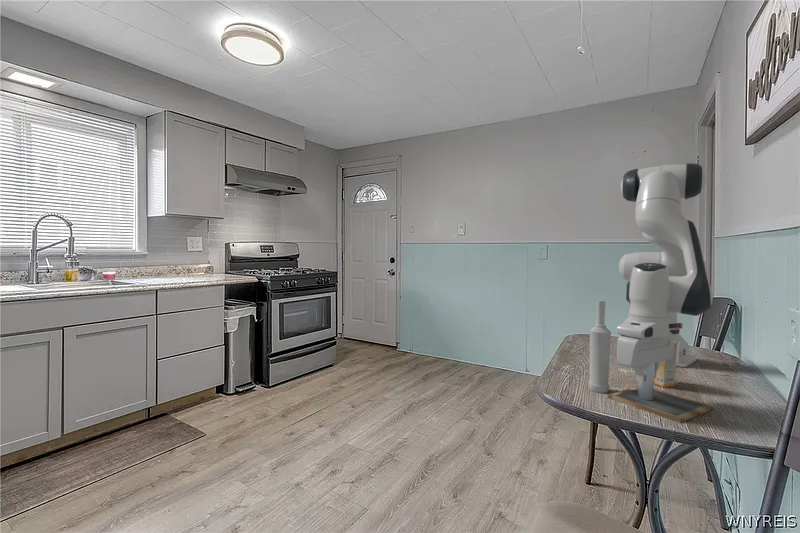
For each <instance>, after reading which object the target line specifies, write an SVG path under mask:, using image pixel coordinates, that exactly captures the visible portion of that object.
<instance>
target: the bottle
mask: <svg viewBox="0 0 800 533" xmlns="http://www.w3.org/2000/svg"><path fill="white" fill-rule="evenodd" d="M605 315H606V300H605V299H602V300H601V299H597V300H596V322H595V324H594V327H592V328H590V330H589V377H588V378H589V381H588V382H587V383H588V384H587V386H588V389H589V390H590V391H591V392H593V393H598V394H601V393H602V394H605V393H608V392H609V390H610V384H609V373H610V372H609V371H610V354H611V353H610V352H611V351H610V350H611V338H612V337H611V335H612V332H611V330H609V329H608V328H607V325H606V324H605V321H606V320H605V318H606V316H605Z"/></svg>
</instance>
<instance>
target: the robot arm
mask: <svg viewBox="0 0 800 533" xmlns="http://www.w3.org/2000/svg"><path fill="white" fill-rule="evenodd" d="M706 177H707V176H706V172H705V171H704V169H703V166H702V165H700V164H698V163H694V162H693V163H692V162H691V163H690V162H689V163H686V164H685V163H680V164H679V163H675V164H672V163H671V164H661V165H657V166H649V167H645V168H639V169H638V168H634V169H631V170H628V171H626V173H625V174H623V177H622V179H621V182H620V192H621V195H622V197H623V198H624V199H625V200H626V201H629V202H633V203H635V207H634V208H635V210H634V211H635V214H634V217H635V224H636V226H637V227H638V229H639V230H640V231H641V234H642V237H643V238H644V240H645V241H647V242H648V243H650V244H652V245H655V246H657V247H659V248H660V249H661V250H662V251H636V252H629V253H624V255H623V256H622V257H621V258H620V260H619V262H618V266H617V268H618V272H619V274H620V275H621V277H622V278H623V280H626V282H627V283H626V296H625V297H626V298H625V300H626V301H627V302H628V303H629V305H630V306H629V310H628V314H627V315H628V316H627V318H626V319H625V320H624V321H623V322H622V323H620V324H618V325H617V327H616V334H617V335H619V336H618V338H617V342H616V343H617V344H616V346H617V347H616V360H617V362H618V364H619V365H620V366H621V367H624V368H625V367H626V368H629V369H633V371H634V373H635V380H636V382H638V381H639V382H645V381H646V375H644V370H643V369H645V365H648V364H652V363H655V371H654V379H655V378H656V373H657V370H658V368H659V366H660V362H661V361H665V360H669V359H672V358H673V355H674V342H677V356H676V367H681V368H687V367H689V366H691V365H692V364H693V363H695V362H696V361H697V357H696V356H693V355H689V354H690V348H689V347H690V345H689V342H687V341H686V339H685V338H684V337H683V336H682V335H681V334H680V333H681V332H680V329H681V330H682V329H683V323H682V322H678V313H679V314H683V315H688V316H696V317H697V316H699V315H701V314H704V313H705V312H707V311H708V310H710V309H712V308H711V307H712V305H713V299H714V295H713V290H712V286H711V285H710V283H709V282H710V281H709V280H708V276H707V264H706V261H705V259H704V257H703V253H702V252H703V251H702V247H701V242H700V238H699V234H698V231H697V228H696V225H695V223H694V222H693V221H691V220H688V219H687V218H686V217H685V215H684V214H683V212H682V199H685V200H686V201H687V200H688V199H692V198H695V197H697V196H698V195H700V194H701V193H702V191H703V189H704V187H705V184H706V180H707V178H706Z"/></svg>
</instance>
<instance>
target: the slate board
mask: <svg viewBox="0 0 800 533" xmlns="http://www.w3.org/2000/svg"><path fill="white" fill-rule="evenodd" d="M607 399H611V400H613V401H617V402H619V403H622V404H626V405H628V406H631V407H634V408H637V409H639V410H643V411H646V412H648V413H651V414H655V415H658V416H660V417H664V418H666V419H669V420H672V421H675V422H677V423H682V422H685V421H687V420H690V419H691V418H695V417H697V416H700V415H702V414H705V413H706V412H710V411H712V410H713V409H714V405H711V404H708V403H705V402H701V401H699V400H694V399H691V398H687V397H684V396H681V395H678V394H677V395H676V394H674V393H670V392H667V391H664V390H660V389H656V388H654V399H653V400H644V399H641V398H639V397H638V385H637V386H633V387H631V388H627V389H623V390H619V391H616V392H613V393H609V394H607ZM711 409H712V410H711Z"/></svg>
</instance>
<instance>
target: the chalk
mask: <svg viewBox="0 0 800 533" xmlns="http://www.w3.org/2000/svg"><path fill="white" fill-rule="evenodd" d="M643 370H644V375H646V381H645V382H639V381H637V382H638V383H637V384H638V385H637V386H638V397H639V398H641V399H644V400H653V399H654V389H655V384H654V371H655V363H652V364H648V365H645V369H643Z"/></svg>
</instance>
